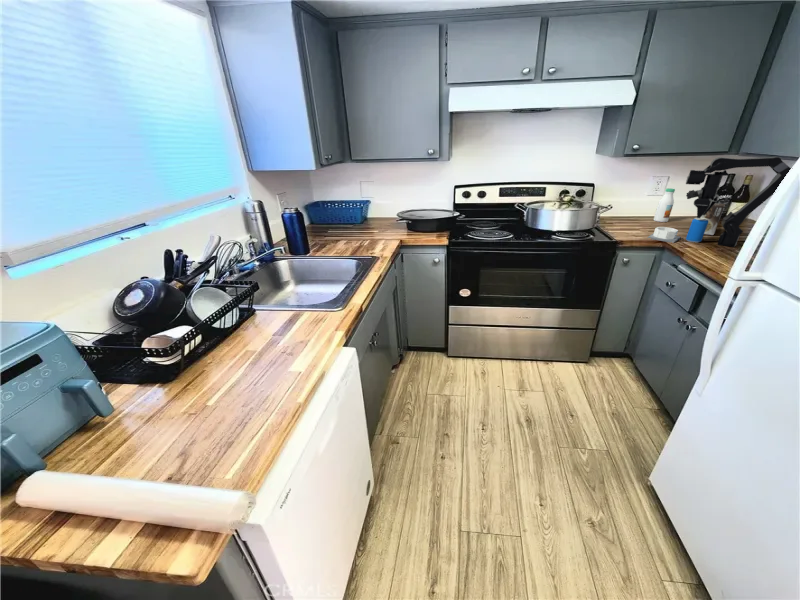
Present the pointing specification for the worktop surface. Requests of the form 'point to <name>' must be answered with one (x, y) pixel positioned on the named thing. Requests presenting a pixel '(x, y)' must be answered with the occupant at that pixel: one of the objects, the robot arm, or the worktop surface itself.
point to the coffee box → (713, 218)
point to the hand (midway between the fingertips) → (700, 216)
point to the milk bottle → (665, 206)
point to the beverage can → (697, 229)
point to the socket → (665, 234)
